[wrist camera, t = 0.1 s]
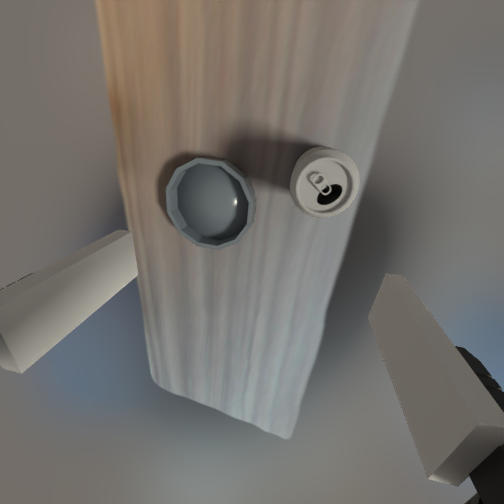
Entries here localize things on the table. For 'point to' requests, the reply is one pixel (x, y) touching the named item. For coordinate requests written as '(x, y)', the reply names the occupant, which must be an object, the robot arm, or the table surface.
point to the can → (324, 182)
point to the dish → (211, 202)
